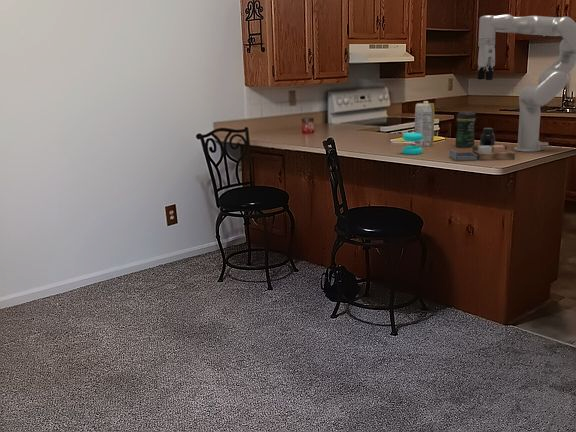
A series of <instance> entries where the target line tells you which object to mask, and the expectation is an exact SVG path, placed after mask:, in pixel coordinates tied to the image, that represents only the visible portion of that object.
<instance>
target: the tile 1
mask: <svg viewBox="0 0 576 432" xmlns="http://www.w3.org/2000/svg"><path fill="white" fill-rule="evenodd" d="M477 146H478V152H480V153H490V152H492V147H491V146H480V145H477Z"/></svg>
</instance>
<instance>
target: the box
mask: <svg viewBox="0 0 576 432" xmlns="http://www.w3.org/2000/svg"><path fill="white" fill-rule="evenodd" d="M449 158H450V159H452V160H453V161H455V162H472V161H473V162H474V161H475V162H477V161H478V159H477V155H476V154H474V153H472V151H468V152H457V151H456V150H453V149H452V148H449Z"/></svg>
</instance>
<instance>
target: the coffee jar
mask: <svg viewBox="0 0 576 432" xmlns="http://www.w3.org/2000/svg"><path fill="white" fill-rule="evenodd" d="M476 116H477V115H476V112H475V111H469V110H468V111H460V112H458V113H457V115H456V122H457V124H456V125H457V127H456V128H457V129H456V136H455V147H457V148H473V146H475V124H476V120H477V117H476Z"/></svg>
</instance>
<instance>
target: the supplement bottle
mask: <svg viewBox="0 0 576 432" xmlns="http://www.w3.org/2000/svg"><path fill="white" fill-rule="evenodd" d="M479 141H480V143H479V146H489V145H496V144H495V143H496V142H495V141H496V136H495V134H494V128H492V127H484V128H483V129H482V134H480V138H479Z"/></svg>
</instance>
